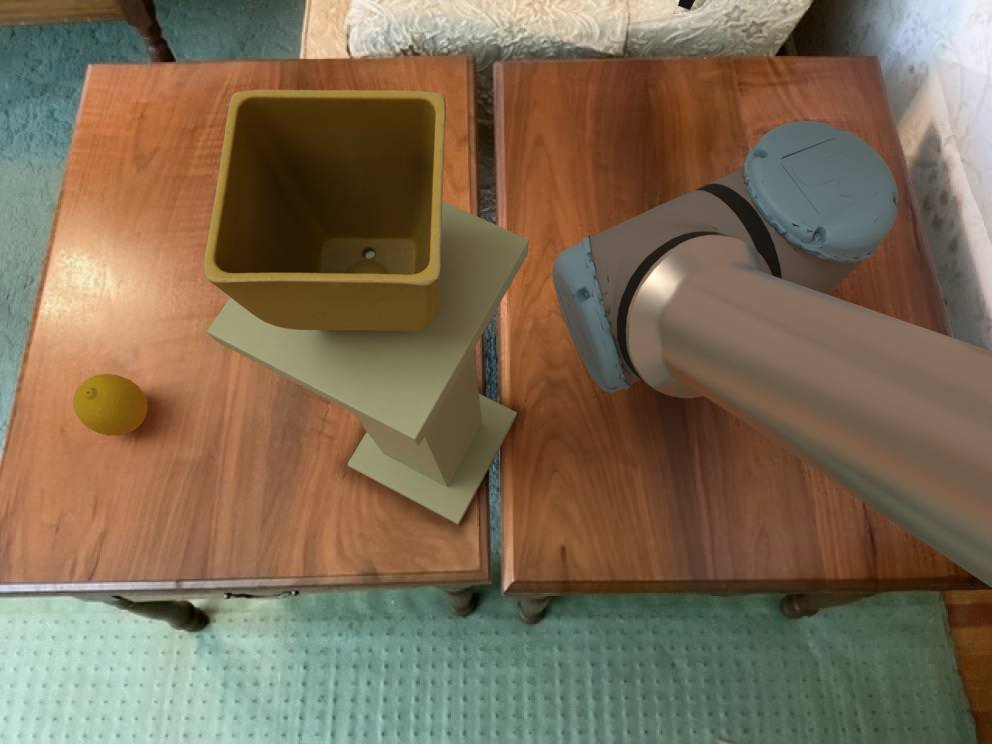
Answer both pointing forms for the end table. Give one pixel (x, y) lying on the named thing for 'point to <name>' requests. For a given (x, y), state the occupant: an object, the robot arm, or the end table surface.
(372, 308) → the flower pot
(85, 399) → the lemon
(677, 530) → the end table surface
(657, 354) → the robot arm
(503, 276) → the plant stand
